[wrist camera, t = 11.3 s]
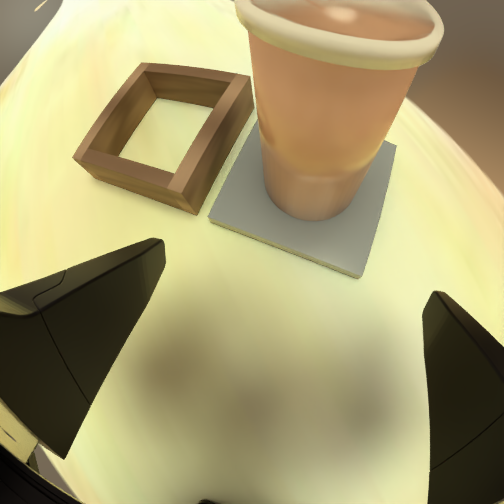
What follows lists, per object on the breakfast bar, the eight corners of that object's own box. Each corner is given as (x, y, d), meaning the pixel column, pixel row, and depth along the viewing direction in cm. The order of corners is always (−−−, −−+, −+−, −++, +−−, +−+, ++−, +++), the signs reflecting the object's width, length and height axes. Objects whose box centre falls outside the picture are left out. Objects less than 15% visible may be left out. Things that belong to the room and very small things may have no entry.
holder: (196, 215, 20) (181, 193, 16) (95, 178, 21) (72, 157, 18) (254, 107, 22) (250, 76, 18) (154, 88, 23) (141, 62, 20)
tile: (357, 278, 18) (362, 276, 17) (210, 222, 20) (207, 217, 19) (392, 152, 20) (396, 145, 19) (267, 109, 21) (267, 101, 21)
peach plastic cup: (356, 235, 17) (467, 80, 5) (249, 215, 18) (203, 30, 6) (363, 122, 19) (411, -32, 7) (274, 107, 20) (266, -56, 8)
